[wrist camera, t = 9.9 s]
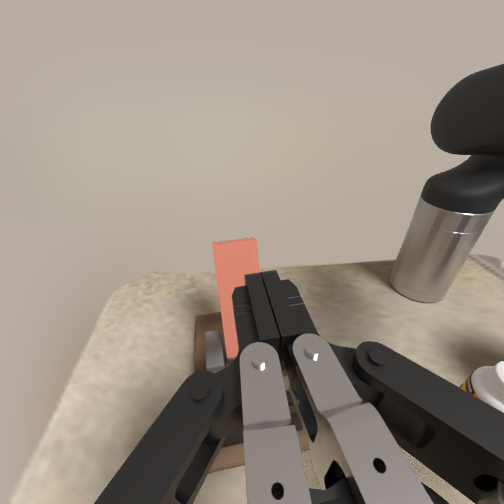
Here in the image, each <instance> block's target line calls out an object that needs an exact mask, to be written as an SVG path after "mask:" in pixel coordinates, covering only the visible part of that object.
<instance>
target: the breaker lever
mask: <svg viewBox="0 0 504 504" xmlns="http://www.w3.org/2000/svg"><path fill="white" fill-rule="evenodd" d="M212 246H213V254H214V262H215V269H216V277H217V285H218V292H219V300H220V308H221V315H222V323H223V331H224V338H225V346H226V354H227V358H228V361H233V360H235V358H236V356H237V354H238V351H239V348H238V341H237V334H236V327H235V320H234V312H233V303H232V294H233V291H234V289H235V287H240V286H245V280H244V275H245V274H252V273H259V272H260V271H259V263H258V251H257V242H256V239H254V238H246V239H238V240H229V241H221V242H213V244H212Z"/></svg>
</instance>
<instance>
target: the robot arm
mask: <svg viewBox="0 0 504 504" xmlns="http://www.w3.org/2000/svg"><path fill="white" fill-rule="evenodd" d="M431 134H432V139H433V141H434V142H435V144H436V145H437V146H438V147H439V148H440V149H441V150H443V151H445V152H448V153H451V154H459V155H471V156H470V157H469V159H468V160H466V161H465V162H463V163H462V164H460V165H459V166H457V167H455V168H452V169H450V170H448V171H445V172H442V173H439V174H436V175H434V176H432V177H430V178H429V179H428V180H427V182H426V183H425V186H424V188H423V191H422V193H421V196H420V199H419V201H418V204H417V207H416V209H415V212H414V215H413V217H412V220H411V222H410V225H409V228H408V230H407V233H406V235H405V238H404V241H403V243H402V246H401V248H400V251H399V254H398V256H397V259H396V261H395V264H394V266H393V269H392V271H391V274H390V277H389V280H390V283H391V285H392V286H393V288H394V289H395V290H396V291H398V292H399V293H400V294H402V295H404V296H405V297H408V298H410V299H413V300H415V301H420V302H426V303H433V302H438V301H440V300H442V299H443V298H444V296H445V294H446V293H447V291H448V289H449V288H450V286H451V284H452V283H453V281H454V279H455V278H456V276H457V274H458V273H459V271H460V269H461V267H462V266H463V264H464V262H465V261H466V259H467V257H468V255H469V254H470V252H471V250H472V248H473V247H474V245H475V243H476V242H477V240H478V238H479V237H480V235H481V233H482V231H483V229H484V228H485V226H486V224H487V223H488V221H489V219H490V218H491V216H492V214H493V212H494V211H495V209H496V208H497V206H498V204H499V203H500V201H501V200H502V199H504V64H502V65H498V66H495V67H491V68H488V69H485V70H482V71H479V72H476V73H473V74H471V75H469V76H467V77H465V78H464V79H462V80H461V81H460V82H458V83H457V84H456V85H455V86H454V87H453V88H452V89H451V90H450V91H449V92H448V93H447V94H446V95H445V96H444V97H443V99H442V100H441V102H440V103H439V104H438V106H437V108H436V110H435V112H434V115H433V117H432V121H431ZM244 280H245V286H240V287H235V289H234V291H233V294H232V303H233V312H234V320H235V327H236V334H237V341H238V348H239V351H238V354H237V356H236V358H235V360H234V361H233V362H232V363H231V364H230V365H229V366H227V367H226V368H224V369H222V370H220V371H218V372H217V373H215V374H214V373H212V372H209V371H199V372H196V373H194V374H192V375H191V376H189V377H188V378H187V379H186V380H185V381H184V382H183V384H182V385H181V387H180V388H179V389H178V391H177V392H176V393H175V395H174V396H173V397H172V399H171V400H170V401H169V403H168V404H167V405H166V407H165V408H164V410H163V411H162V412H161V414H160V415H159V416H158V418H157V419H156V420H155V422H154V423H153V424H152V426H151V427H150V428H149V430H148V431H147V433H146V434H145V435H144V437H143V438H142V439H141V441H140V442H139V443H138V445H137V446H136V447H135V449H134V450H133V451H132V453H131V454H130V456H129V457H128V458H127V460H126V461H125V462H124V464H123V465H122V466H121V468H120V469H119V470H118V472H117V473H116V474H115V476H114V477H113V479H112V480H111V481H110V483H109V484H108V485H107V487H106V488H105V489H104V491H103V492H102V493H101V495H100V496H99V497H98V499H97V500H96V502H95V503H94V504H193V502H194V500H195V498H196V496H197V494H198V492H199V490H200V488H201V486H202V484H203V482H204V480H205V478H206V476H207V474H208V472H209V470H210V468H211V467H212V465H213V463H214V461H215V459H216V457H217V455H218V453H219V451H220V449H221V447H222V445H223V443H224V441H225V439H226V437H227V435H228V434H229V433H231V432H232V431H234V430H235V429H237V428H238V427H240V426H241V425H243V437H244V455H245V473H246V490H247V504H449V503H448V502H447V501H446V500H444V499H443V498H442V497H441V496H440V495H438V494H437V493H436V492H435V491H433V490H432V489H431V488H429V487H428V486H426V485H425V484H423V483H422V482H420V480H419V479H418V477H417V475H416V474H415V472H414V470H413V469H412V467H411V465H410V464H409V462H408V460H407V459H406V457H405V455H404V454H403V452H402V451H401V449H400V447H401V448H403V449H404V450H405V451H407V452H408V453H409V454H411V455H412V456H413V457H415V458H416V459H417V460H419V461H420V462H421V463H423V464H424V465H425V466H426V467H428V468H429V469H430V470H432V471H433V472H434V473H436V474H437V475H438V476H440V477H441V478H442V479H444V480H445V481H446V482H448V483H449V484H450V485H452V486H453V487H454V488H456V489H457V490H458V491H459V492H461V493H462V494H463V495H465V496H466V497H467V498H469V499H470V500H471V501H473V502H474V503H475V504H504V413H503V412H502V411H500V410H498V409H496V408H494V407H493V406H491V405H489V404H487V403H486V402H484V401H482V400H480V399H478V398H477V397H475V396H473V395H471V394H470V393H468V392H466V391H464V390H462V389H461V388H459V387H457V386H455V385H454V384H452V383H450V382H448V381H446V380H445V379H443V378H441V377H439V376H438V375H436V374H434V373H432V372H431V371H429V370H427V369H425V368H423V367H422V366H420V365H418V364H416V363H415V362H413V361H411V360H409V359H407V358H406V357H404V356H402V355H400V354H399V353H397V352H395V351H393V350H391V349H390V348H388V347H386V346H384V345H382V344H380V343H377V342H372V341H368V342H363V343H361V344H360V345H359V346H358V347H357V349H354V348H347V347H339V346H335V345H332V344H330V343H328V342H327V341H326V340H325V339H323V338H322V337H320V335H319V334H318V332H317V331H316V328H315V326H314V324H313V322H312V320H311V318H310V315H309V313H308V311H307V309H306V307H305V305H304V303H303V300H302V298H301V297H300V294H299V291H298V289H297V287H296V286H295V285H294V284H293V283H292V282H291V281H290V280H289V279H288V280H281V281H280V278H279V276H278V273H277V271H276V270H273V271H266V272H259V273H252V274H245V275H244ZM284 370H286V372H287V375H288V378H289V391H290V394H291V397H292V400H293V402H294V405H295V408H296V411H297V413H298V416H299V419H300V422H301V424H302V427H303V430H304V433H305V436H306V438H307V441H308V445H309V449H310V455H311V460H312V464H313V468H314V471H315V474H316V476H317V479H318V482H319V485H320V488H321V490H319V489H310V488H308V483H307V478H306V474H305V469H304V464H303V459H302V454H301V450H300V445H299V440H298V435H297V431H296V428H295V425H294V422H293V421H292V419H291V416H290V411H289V406H288V401H287V396H286V391H285V386H284V381H283V376H282V371H284ZM398 445H399V446H400V447H399V446H398Z"/></svg>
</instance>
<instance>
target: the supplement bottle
mask: <svg viewBox="0 0 504 504" xmlns="http://www.w3.org/2000/svg"><path fill="white" fill-rule="evenodd" d="M459 388H461V389H462V390H464V391H466V392H468V393H470V394H471V395H473V396H475V397H477V398H478V399H480V400H482V401H484V402H486V403H487V404H489V405H491V406H493V407H494V408H496V409H498V410H500V411H502V412H503V413H504V361H501V362H498V363H497V364H496V365H495V366H482V367H480V368H478V369H476V370H475V371H474V372H473V373H472V374H471V375H470V376H469V377H468V378H467V380H466V381H465V382H464V383H463V384H462V385H461V386H460V387H459Z"/></svg>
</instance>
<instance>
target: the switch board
mask: <svg viewBox="0 0 504 504" xmlns="http://www.w3.org/2000/svg"><path fill="white" fill-rule="evenodd" d="M233 361H234V360H233ZM233 361H228V358H227V354H226V346H225V338H224V331H223V323H222V315H221V312H219V313H212V314H206V315H199V316H196V349H195V373H196V372H199V371H209V372H212V373H214V374H215V373H217V372H218V371H220V370H222V369H224V368H226V367H227V366H229V365H230V364H231V363H232V362H233ZM282 376H283V381H284V386H285V391H286V396H287V401H288V406H289V411H290V416H291V419H292V421H293V422H294V425H295V428H296V431H297V435H298V440H299V445H300V450H301V451H306V450H310V449H309V445H308V441H307V438H306V436H305V433H304V430H303V427H302V424H301V422H300V419H299V416H298V413H297V411H296V408H295V405H294V402H293V400H292V397H291V394H290V391H289V378H288V375H287V372H286V370H284V371H282ZM242 465H245V455H244V437H243V425H241V426H240V427H238V428H237V429H235V430H234V431H232V432H231V433H229V434H228V435H227V437H226V439H225V441H224V443H223V445H222V447H221V449H220V451H219V453H218V455H217V457H216V459H215V461H214V463H213V465H212V467H211V468H210V470H209V472H208V473H212V472H216V471H220V470H225V469H229V468H233V467H237V466H242Z"/></svg>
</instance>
